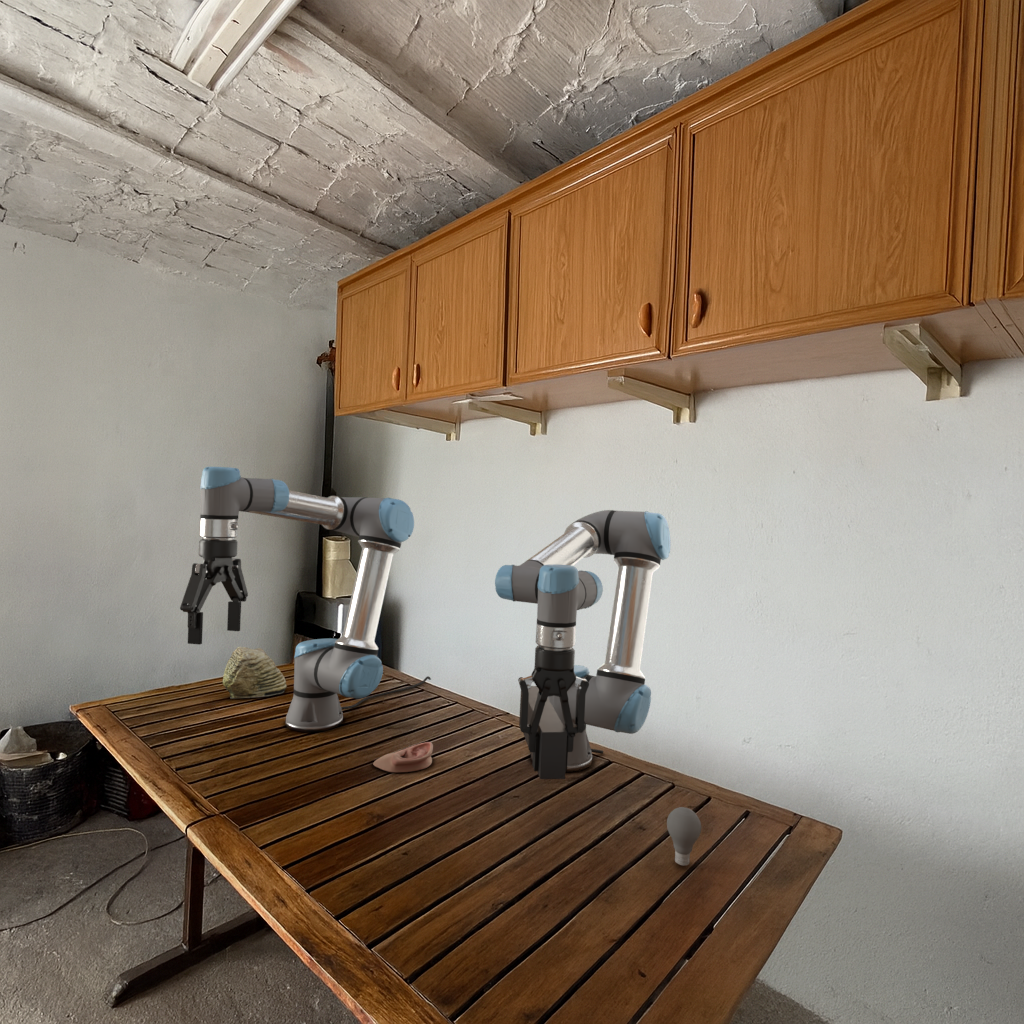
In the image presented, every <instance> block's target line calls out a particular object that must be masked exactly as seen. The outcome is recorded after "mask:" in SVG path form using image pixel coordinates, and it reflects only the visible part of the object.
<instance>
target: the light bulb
mask: <svg viewBox="0 0 1024 1024" xmlns="http://www.w3.org/2000/svg"><path fill="white" fill-rule="evenodd" d="M666 828H667V829H666V830H667V832H668V833H669V836H670V838H671V840H672V843H673V849H674V851H675V852H674V861H675V863H676V864H678V865H680V866H682V867H683V866H688V865H690V859H691V857H690V856H691V852H692V851H693V847H694V844H695V843H696V841H697V840H698V839H699V837H700V835H701V833H702V823H701V820H700V817H698V815H697V813H696V812H695V811H693V810H692V809H691V808H689V807H686V806H684V807H683V806H679V807H676V808H674V809H673V810H671V812H669V814H668V816H667V819H666Z"/></svg>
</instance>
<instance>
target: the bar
mask: <svg viewBox="0 0 1024 1024" xmlns="http://www.w3.org/2000/svg"><path fill="white" fill-rule="evenodd" d="M538 691H539V689H538V687H537V686H536V685H531V688H530V689H528V692H529V701H528V723H527V724H528V725H529V724H530V721H531V717H532V714H533V710H534V707H535V703H536V700H537V695H538ZM537 732H538V733H539V736H540V748H539V770H538V771H536V772H537V775H538V778H539V780H565V779H566V772H565V769H566V747H567V731H566V729H565V728H564V726H563V724H562V722H561V720H560V719H559V717H558V715H557V713H556V711H555V710H554V708H553V706H552V704H551V703H550V701H549V699H548V698H547V701H546V702H545V706H544V709H543V712H542V716H541V719H540V723H539V726H538V730H537ZM522 733H523V732H522ZM523 736H524V739H525V742H526V744H527V746H528V734H527V733H523ZM529 754H530V757H531V756H532V758H533V752H530V751H529Z"/></svg>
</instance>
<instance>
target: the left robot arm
mask: <svg viewBox="0 0 1024 1024" xmlns="http://www.w3.org/2000/svg"><path fill="white" fill-rule="evenodd" d="M241 476H242V475H241V471H240V469H239V468H237V467H230V466H229V467H228V466H227V467H226V466H205V467H204V468H203V469H202V472H201V480H200V486H199V487H200V488H199V489H200V507H199V508H200V509H199V510H200V511H199V517H200V518H199V526H198V527H199V529H198V536H199V537H200V538H201V539H200V540H198V556H199V557H201V558H202V559H203V561H202V563H197V562H196V563H195V562H194V563H192V566H191V573H190V577H189V580H188V583H187V586H186V588H185V591H184V595H183V598H182V600H181V603H180V606H179V610H180V611H182V612H183V613H187V644H189V645H198V646H201V645H203V627H204V612H203V611H201V610H202V608H203V606H204V604H205V602H206V601H207V598H208V597H209V594H210V592H211V591H212V588H214V586H216V585H217V584H218V583H221V584H222V586H223V588H224V590H225V592H226V593H227V595H228V597H229V600H230V601H228V603H227V622H226V623H227V624H226V626H227V628H226V631H229V632H240V631H241V619H242V618H241V615H242V602H246V601H247V598H248V596H249V592H248V588H247V585H246V581H245V576H244V573H243V569H242V559H241V558H235V557H237V556H238V541H237V539H236V538H237V537H238V532H239V531H238V530H239V529H238V528H239V515H240V512H243V513H250V514H255V515H256V514H257V515H262V516H268V517H273V518H274V517H275V518H279V519H286V520H291V521H298V522H304V523H308V524H309V523H310V524H315V525H321V526H322V527H323V528H324V529H325V530H331V531H334V532H339V533H342V534H346V535H350V536H353V537H356V538H358V539H357V543H358V544H359V546H360V547H361V552H360V557H359V561H358V566H357V569H356V574H355V579H354V584H353V588H352V592H351V596H350V600H349V606H348V610H347V614H346V618H345V623H344V628H343V632H342V635H341V636H340V637H339V638H331V637H329V638H317V639H316V638H315V639H308V640H304V641H301V642H299V643H298V644H297V645H296V646H295V652H294V656H293V658H294V670H293V671H294V672H293V695H292V696H293V697H292V699H291V702H290V704H289V708H288V711H287V713H286V715H285V726H286V728H287V729H289V730H291V731H294V732H295V731H296V732H301V733H316V732H325V731H329V730H332V729H335V728H337V727H339V726H340V725H342V723H343V722H344V714H343V710H350V709H354V708H356V707H358V706H359V705H361V704H362V703H363V702H366V701H368V700H370V699H371V700H372V699H374V698H378V697H382V696H387V695H390V694H394V693H399V692H403V691H408V690H410V689H413V688H416V687H418V686H420V685H423V684H424V683H426V681H427V680H429V681H431V680H432V678H431V677H430V676H425V678H424V679H423V680H422V681H420V682H417V683H414V684H413V685H409V686H406V687H402V688H399V689H397V688H396V689H394V690H389V691H385V692H379V693H377V694H373V695H371V694H372V692H374V691H375V690H376V689H377V688H378V686H379V685H380V682H381V681H382V677H383V675H384V665H383V663H382V660H381V659H380V658H379V656H378V653H379V647H378V645H377V644H376V642H375V641H376V636H377V631H378V626H379V621H380V617H381V612H382V609H383V605H384V599H385V595H386V589H387V585H388V581H389V576H390V571H391V567H392V562H393V558H394V555H395V554H396V553H398V552H400V551H401V547H402V543H403V542H406V541H407V540H408V539H409V538H410V537H411V536H412V534H413V532H414V529H415V519H414V514H413V513H414V512H412V510H411V507H410V506H409V504H408V503H407V502H405V501H404V500H402V499H397V498H391V497H370V496H369V497H368V496H361V497H360V496H353V497H351V496H350V497H349V496H347V497H345V496H338V495H330V496H328V497H325V496H321V495H320V496H319V495H315V494H310V493H305V492H300V491H297V490H291V489H289V486H288V485H287V483H286V482H285V481H283V480H281V479H274V478H256V477H252V478H251V477H241ZM339 695H340V696H342V697H345V698H351V699H355V700H356V699H357V700H358V699H360V700H359V701H357V702H356V703H355V704H352V705H348V706H347V705H346V706H345V705H344V706H341V702H340V699H339Z"/></svg>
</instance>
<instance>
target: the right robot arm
mask: <svg viewBox="0 0 1024 1024" xmlns="http://www.w3.org/2000/svg"><path fill="white" fill-rule="evenodd" d="M598 554H599V555H610V556H613V562H614V563H615V565H616V566H617V568H618V569H617V574H616V582H615V590H614V596H613V601H612V602H613V604H612V610H611V617H610V623H609V629H608V630H609V631H608V637H607V645H606V649H605V658H604V663H602V665H600V666H599V667H597V669H596V674H595V675H591V674H590V670H589V668H588V666H584V665H579V664H578V665H577V664H575V656H576V650H575V648H574V647H575V645H576V633H577V632H576V629H577V615H578V614H577V613H578V611H580V610H583V609H584V610H585V609H588V608H591V607H592V606H594V605H596V604H598V602H599V601H600V599H602V596H603V591H604V589H603V582H602V580H601V578H600V577H599V576H598V575H597V574H596V573H594V572H592V571H591V570H578V568H577V567H576V566H575V565H576V564H577V563H578V562H580V561H581V560H582V559H587V558H590V557H592V556H593V555H598ZM670 554H671V533H670V527H669V524H668V521H667V518H666V517H665V516H664V515H663V514H662V513H659V512H650V511H647V510H646V511H635V510H633V511H632V510H614V509H604V510H599V511H595V512H593V513H590V514H587V515H585V516H582V517H581V518H578V519H577V520H575V521H574V522H571V524H569V525H568V526H567V527H566V528H565V530H564V533H563V534H562V535H561V536H559V537H557V538H556V539H555V540H554V541H552V542H551V543H549V544H547V545H546V546H545V547H543V548H542V549H540V550H539V551H538V552H537V553H534V555H532V556H531V557H529V558H528V559H526V560H525V561H524V562H523V563H521V564H520V565H515V564H504V565H501V566H500V568H498V570H497V572H496V574H495V579H494V585H495V588H494V589H495V592H496V594H497V596H498V597H499V598H500V599H503V600H508V601H512V602H520V603H528V604H536V605H537V610H536V628H535V644H536V646H535V649H534V651H535V652H534V668H533V670H532V672H531V674H530V675H529V676H526V677H524V676H523V677H522V676H520V677H518V679H517V681H518V685H519V688H520V700H519V719H518V720H519V723H518V726H519V729H520V732H521V733H527V734H528V745H527V749H528V751H529V753H530V752H533V758H532V756H531V755H530V760H531V761H532V769H533V770H534V772H537V771H538V770H539V748H540V736H539V733H538V732H537V730H538V726H539V723H540V719H541V716H542V712H543V709H544V706H545V702H546V701H547V698H548V699H549V701H550V703H551V704H552V706H553V708H554V710H555V711H556V713H557V715H558V717H559V719H560V720H561V722H562V724H563V726H564V728H565V729H566V731H567V747H566V769H565V773H571V772H572V773H573V772H579V771H582V770H585V769H588V768H589V767H591V765H592V764H593V753H595V754H599V755H603V754H604V750H600V749H596V748H591V745H590V741H589V737H588V733H587V726H592V727H596V728H601V729H605V730H609V731H612V732H615V733H625V734H628V735H629V734H630V735H633V734H637V733H638V732H639V731H640V730H641V729H642V728H643V726H644V724H645V722H646V720H647V717H648V715H649V712H650V707H651V703H652V697H651V696H652V690H651V688H650V686H648V685H647V684H645V683H646V676H645V675H644V673H643V672H642V671H641V663H642V655H643V648H644V641H645V636H646V635H645V634H646V627H647V620H648V619H647V618H648V611H649V605H650V596H651V589H652V582H653V574H654V572H655V571H657V570H658V569H660V567H661V562H662V561H665V560H667V559H668V558H669V556H670ZM533 683H534V685H535V686H537V687H538V689H539V691H538V695H537V700H536V703H535V707H534V710H533V714H532V717H531V721H530V724H529V725H528V724H527V723H528V701H529V692H528V689H530V688H531V686H532V684H533Z"/></svg>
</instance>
